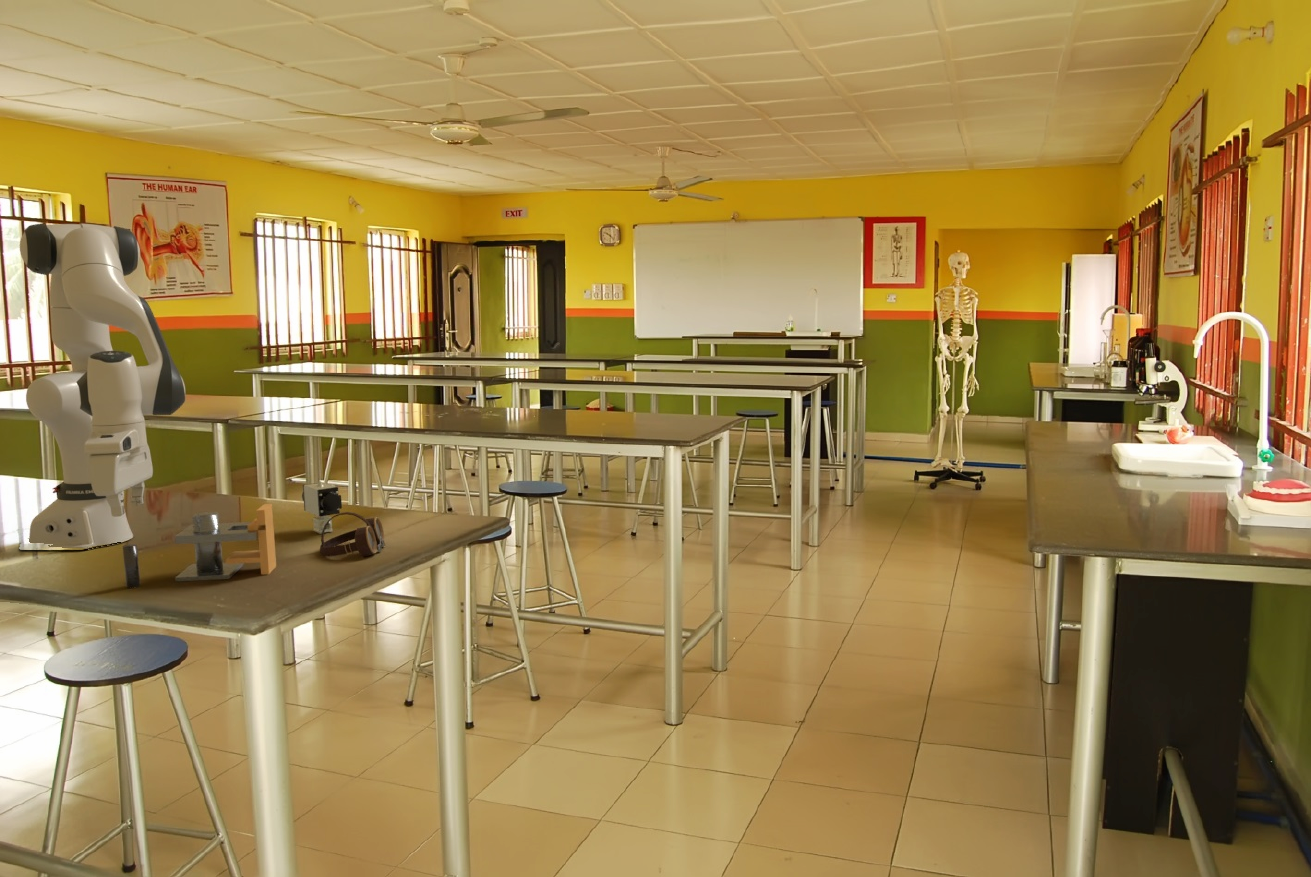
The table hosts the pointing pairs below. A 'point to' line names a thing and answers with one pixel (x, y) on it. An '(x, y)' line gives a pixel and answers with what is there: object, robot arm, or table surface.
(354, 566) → the table surface
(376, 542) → the goggles
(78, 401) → the robot arm
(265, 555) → the bracket
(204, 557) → the double plate spool
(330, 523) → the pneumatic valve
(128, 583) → the pin
